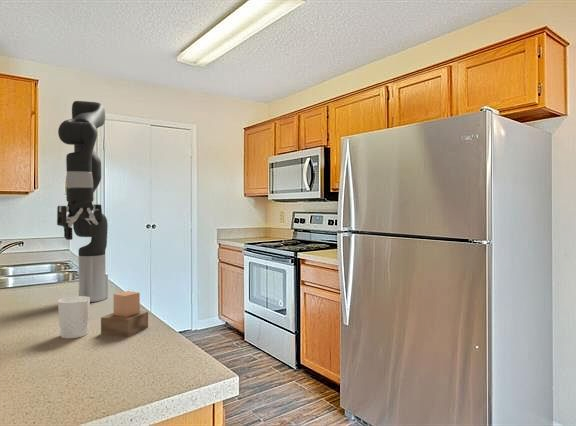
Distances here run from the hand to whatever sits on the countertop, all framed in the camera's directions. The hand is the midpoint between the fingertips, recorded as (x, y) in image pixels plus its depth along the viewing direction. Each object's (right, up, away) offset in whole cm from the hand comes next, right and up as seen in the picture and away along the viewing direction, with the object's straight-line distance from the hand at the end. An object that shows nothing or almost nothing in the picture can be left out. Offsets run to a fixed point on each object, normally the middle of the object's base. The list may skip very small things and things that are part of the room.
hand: (81, 238), depth 124 cm
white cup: (+5, -26, -14) cm, 30 cm away
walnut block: (+18, -27, -10) cm, 33 cm away
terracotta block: (+18, -22, -10) cm, 30 cm away
